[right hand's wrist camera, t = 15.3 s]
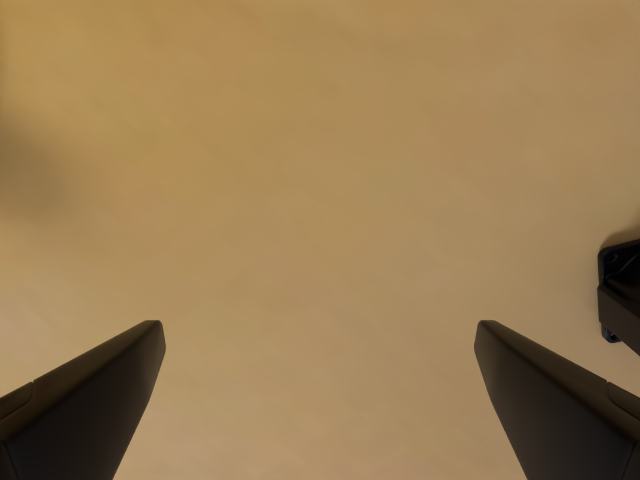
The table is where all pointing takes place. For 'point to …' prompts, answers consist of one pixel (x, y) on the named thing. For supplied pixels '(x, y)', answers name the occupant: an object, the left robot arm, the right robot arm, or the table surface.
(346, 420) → the table surface
